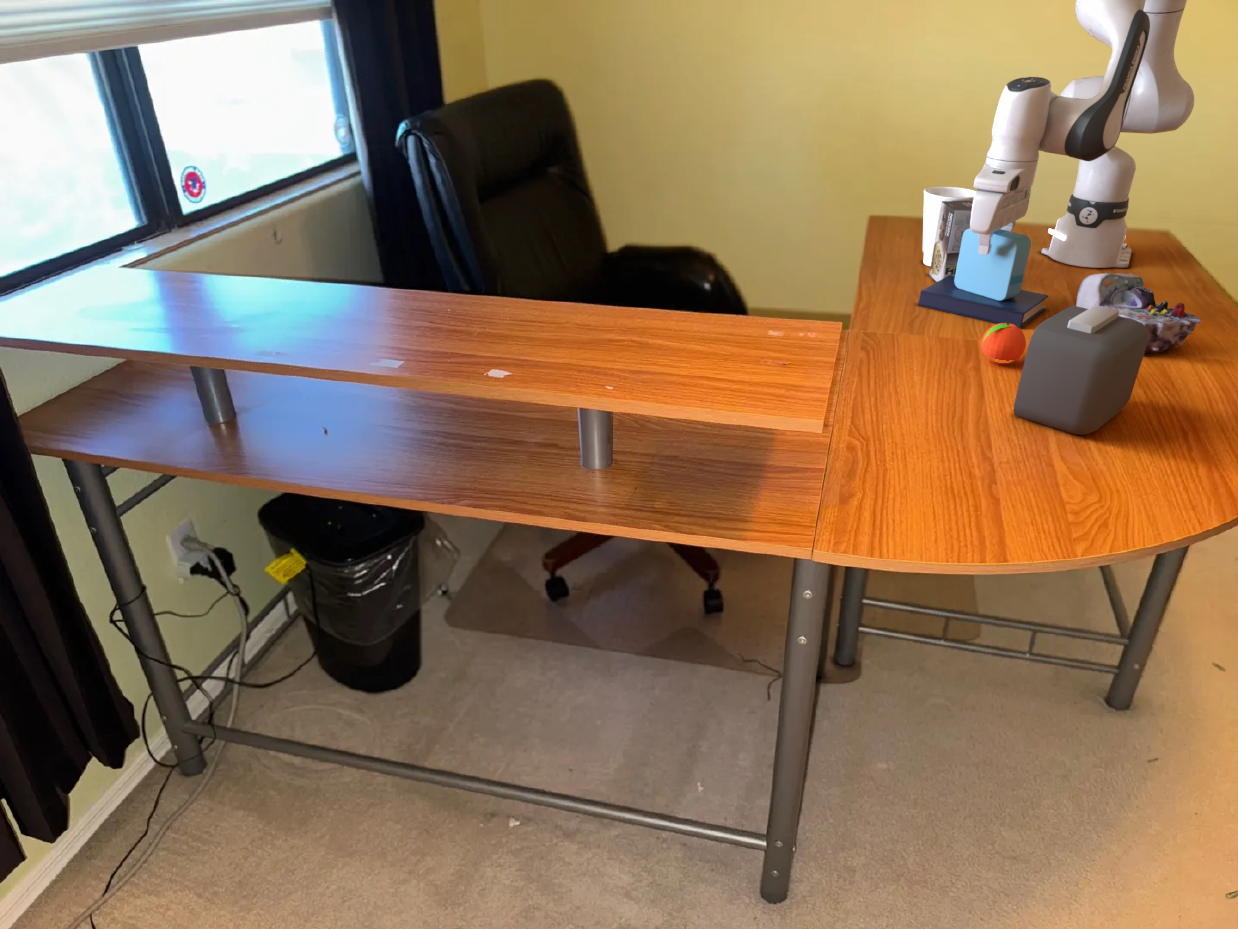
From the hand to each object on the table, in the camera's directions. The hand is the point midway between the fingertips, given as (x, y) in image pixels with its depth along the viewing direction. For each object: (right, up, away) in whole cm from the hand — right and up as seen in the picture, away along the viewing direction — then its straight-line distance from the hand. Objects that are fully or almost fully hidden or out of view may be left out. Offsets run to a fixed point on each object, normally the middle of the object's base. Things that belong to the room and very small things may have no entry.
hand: (993, 248), depth 169 cm
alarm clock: (-4, -34, -37) cm, 51 cm away
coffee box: (-1, -2, +21) cm, 21 cm away
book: (0, -10, +6) cm, 12 cm away
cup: (+1, +4, +32) cm, 33 cm away
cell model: (+20, -19, -9) cm, 29 cm away
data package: (0, -8, +4) cm, 9 cm away
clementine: (-8, -25, -20) cm, 32 cm away
